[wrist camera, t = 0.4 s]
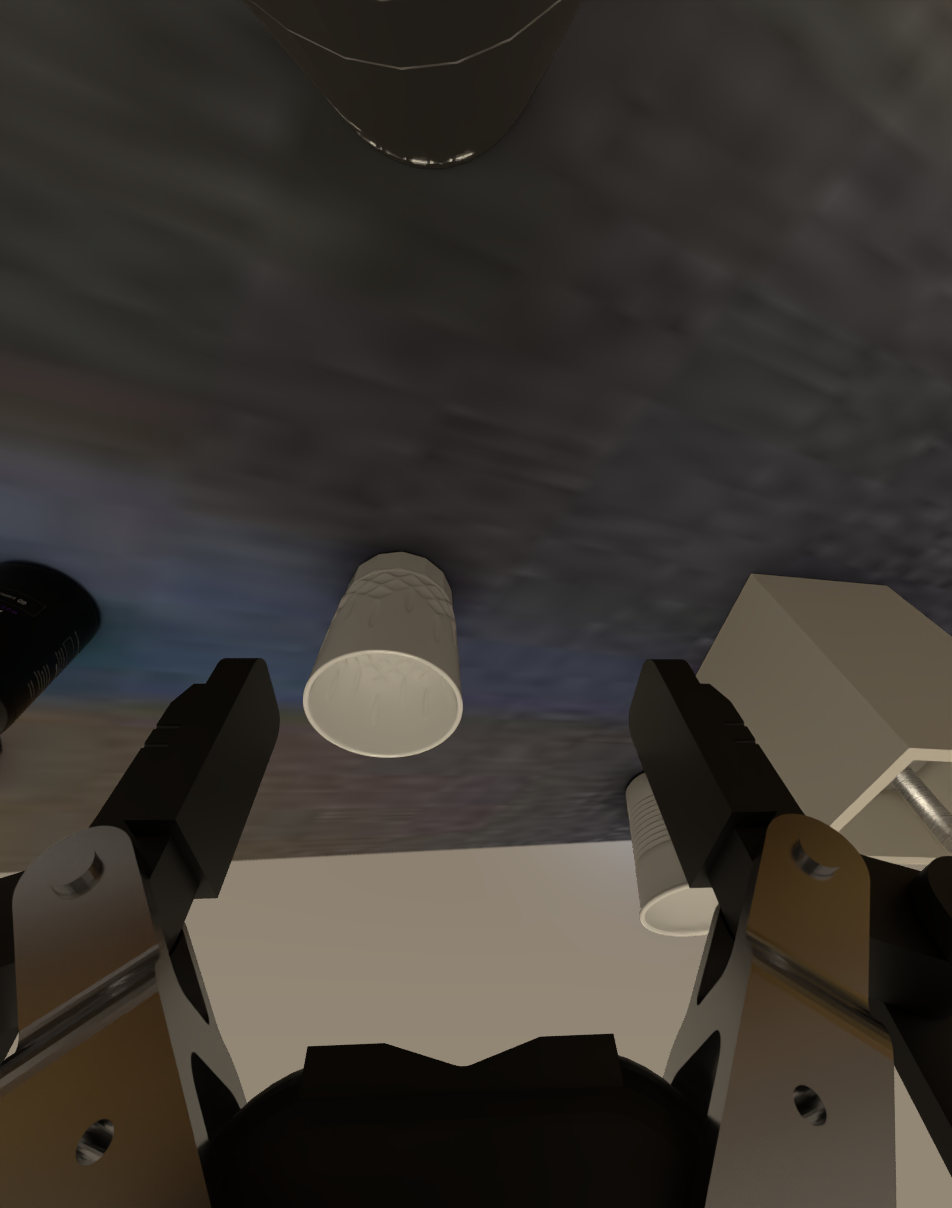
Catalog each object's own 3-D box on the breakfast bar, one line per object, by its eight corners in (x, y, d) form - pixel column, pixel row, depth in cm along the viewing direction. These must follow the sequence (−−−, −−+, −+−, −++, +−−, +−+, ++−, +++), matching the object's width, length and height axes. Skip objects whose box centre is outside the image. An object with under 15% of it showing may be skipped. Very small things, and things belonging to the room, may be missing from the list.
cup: (584, 799, 48) (614, 925, 39) (651, 740, 43) (703, 870, 34) (660, 822, 51) (704, 944, 42) (732, 770, 46) (799, 896, 37)
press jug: (751, 573, 33) (909, 747, 21) (886, 585, 34) (1106, 758, 22) (679, 706, 40) (767, 886, 29) (791, 712, 41) (919, 889, 30)
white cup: (484, 592, 33) (495, 706, 25) (407, 656, 36) (394, 776, 28) (392, 518, 29) (370, 622, 21) (316, 595, 32) (270, 712, 24)
